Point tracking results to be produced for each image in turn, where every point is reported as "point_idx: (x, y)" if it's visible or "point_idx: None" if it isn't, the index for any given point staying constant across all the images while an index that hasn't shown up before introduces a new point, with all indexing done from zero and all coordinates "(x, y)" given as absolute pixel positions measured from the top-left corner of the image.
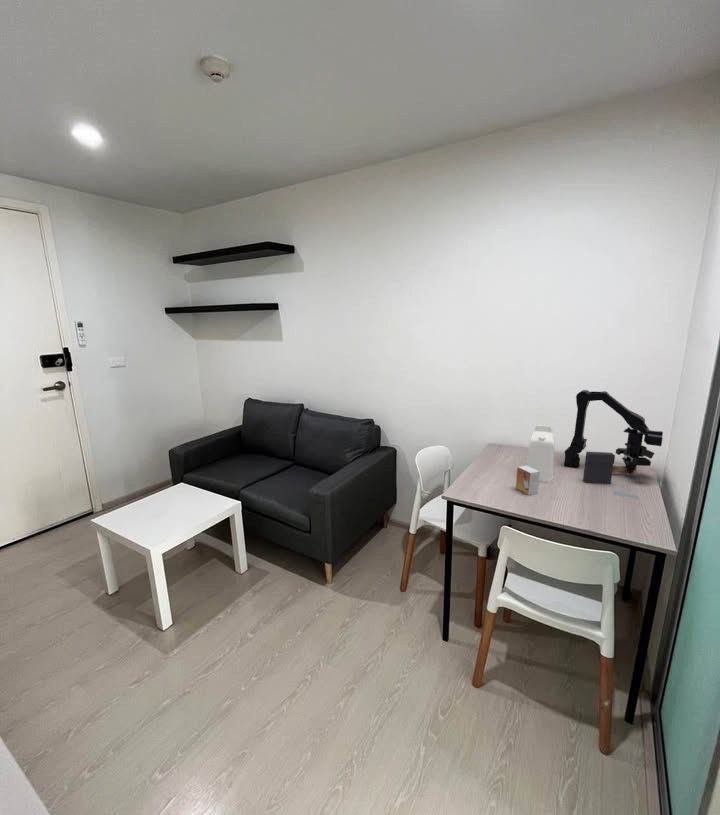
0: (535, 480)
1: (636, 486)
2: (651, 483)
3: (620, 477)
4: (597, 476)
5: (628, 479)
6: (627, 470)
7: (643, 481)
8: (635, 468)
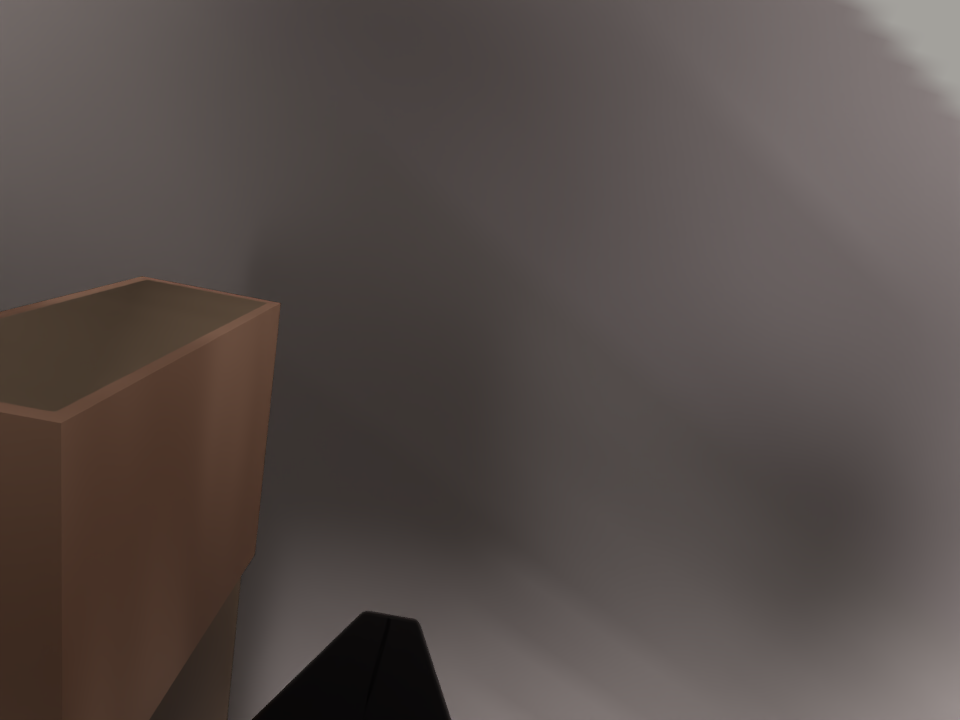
0: None
1: (935, 709)
2: (901, 107)
3: None
4: None
5: (461, 579)
6: (179, 714)
7: (681, 254)
8: (143, 467)
